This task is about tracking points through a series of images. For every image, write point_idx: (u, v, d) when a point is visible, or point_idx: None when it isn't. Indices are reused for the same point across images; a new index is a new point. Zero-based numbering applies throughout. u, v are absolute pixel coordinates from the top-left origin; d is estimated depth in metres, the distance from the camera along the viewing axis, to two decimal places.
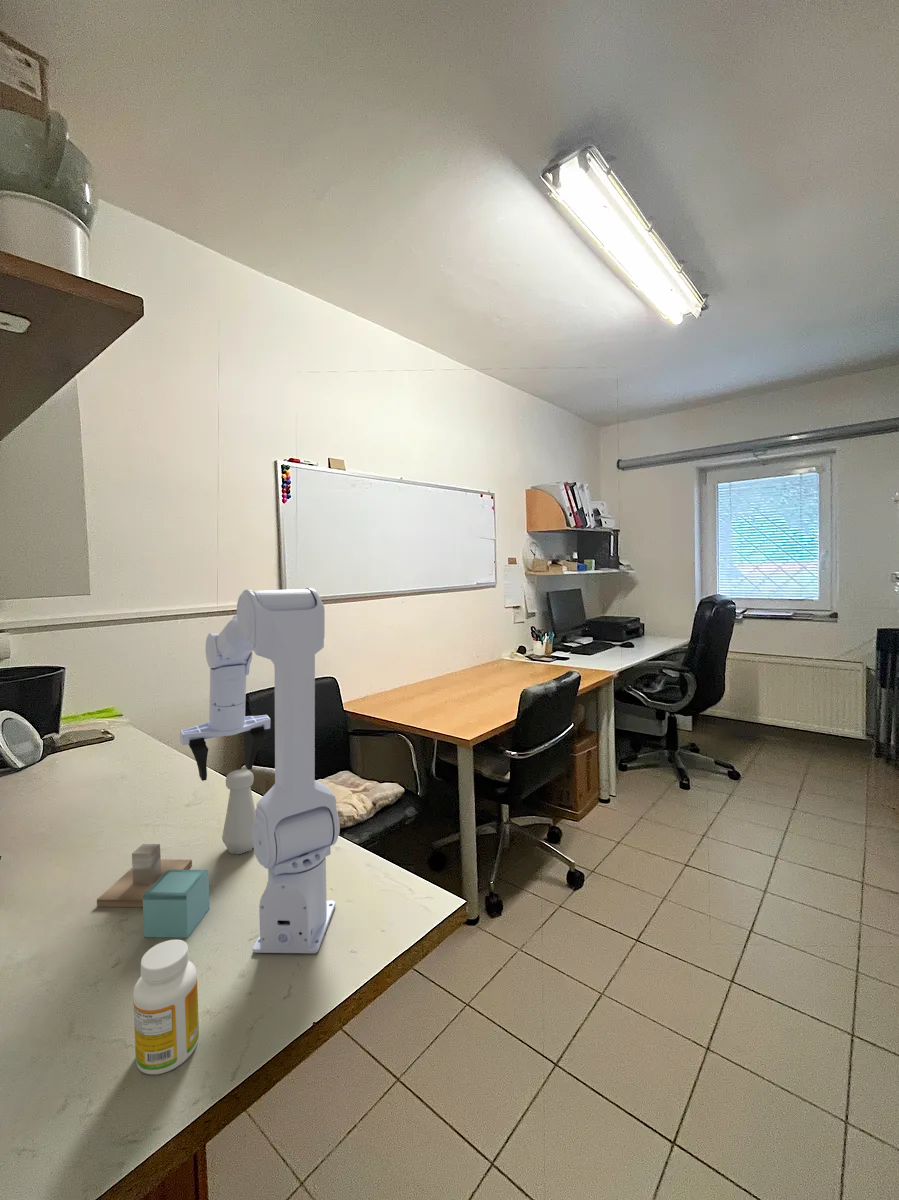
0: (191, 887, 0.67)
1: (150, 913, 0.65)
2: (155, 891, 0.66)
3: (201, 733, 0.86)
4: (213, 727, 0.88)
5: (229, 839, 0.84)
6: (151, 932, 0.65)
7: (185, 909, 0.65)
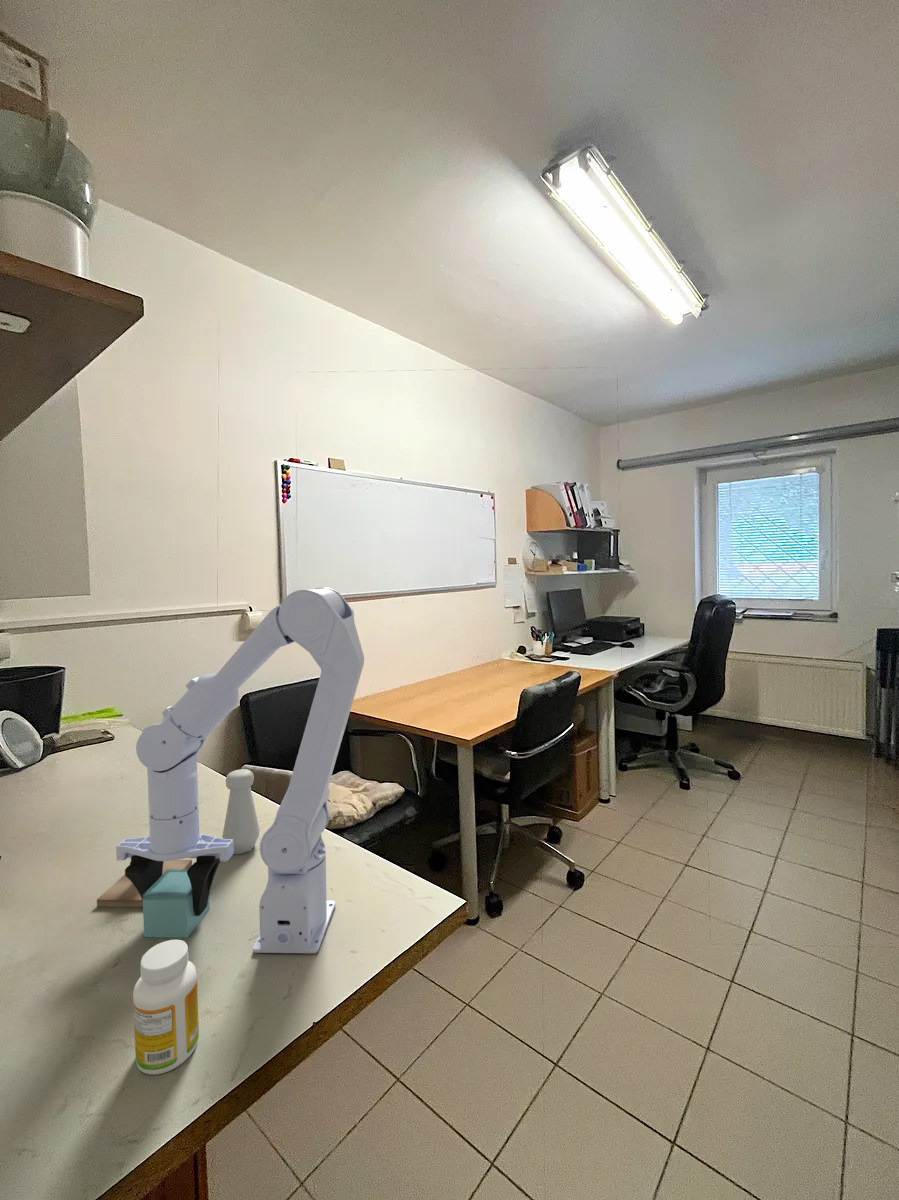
0: (191, 887, 0.67)
1: (150, 913, 0.65)
2: (155, 891, 0.66)
3: (133, 849, 0.66)
4: None
5: None
6: (151, 932, 0.65)
7: (185, 909, 0.65)
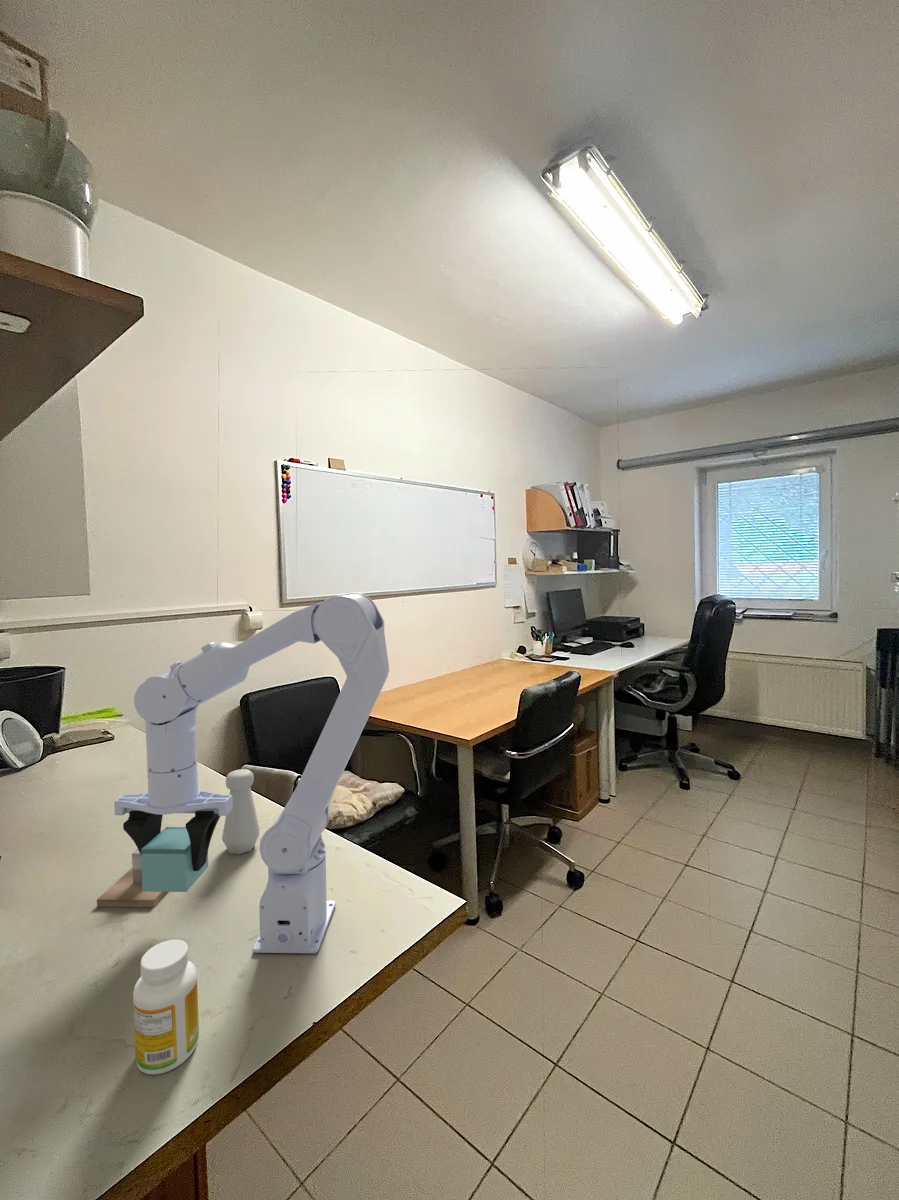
0: None
1: (148, 867, 0.65)
2: (153, 845, 0.65)
3: (132, 804, 0.66)
4: (148, 799, 0.66)
5: (229, 839, 0.84)
6: (150, 886, 0.65)
7: (184, 863, 0.65)
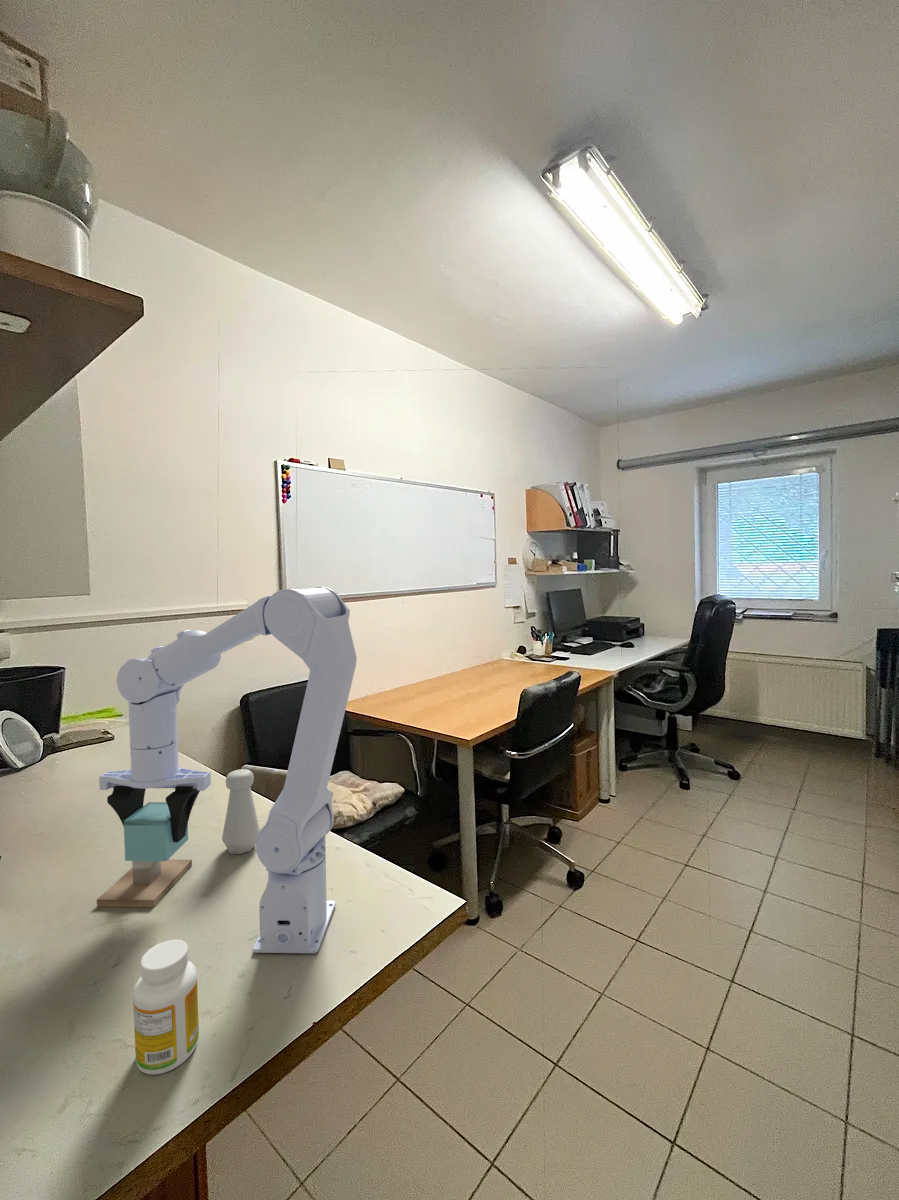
0: None
1: (131, 838, 0.69)
2: (136, 818, 0.70)
3: (115, 779, 0.70)
4: None
5: (229, 839, 0.84)
6: (132, 856, 0.69)
7: (164, 834, 0.69)
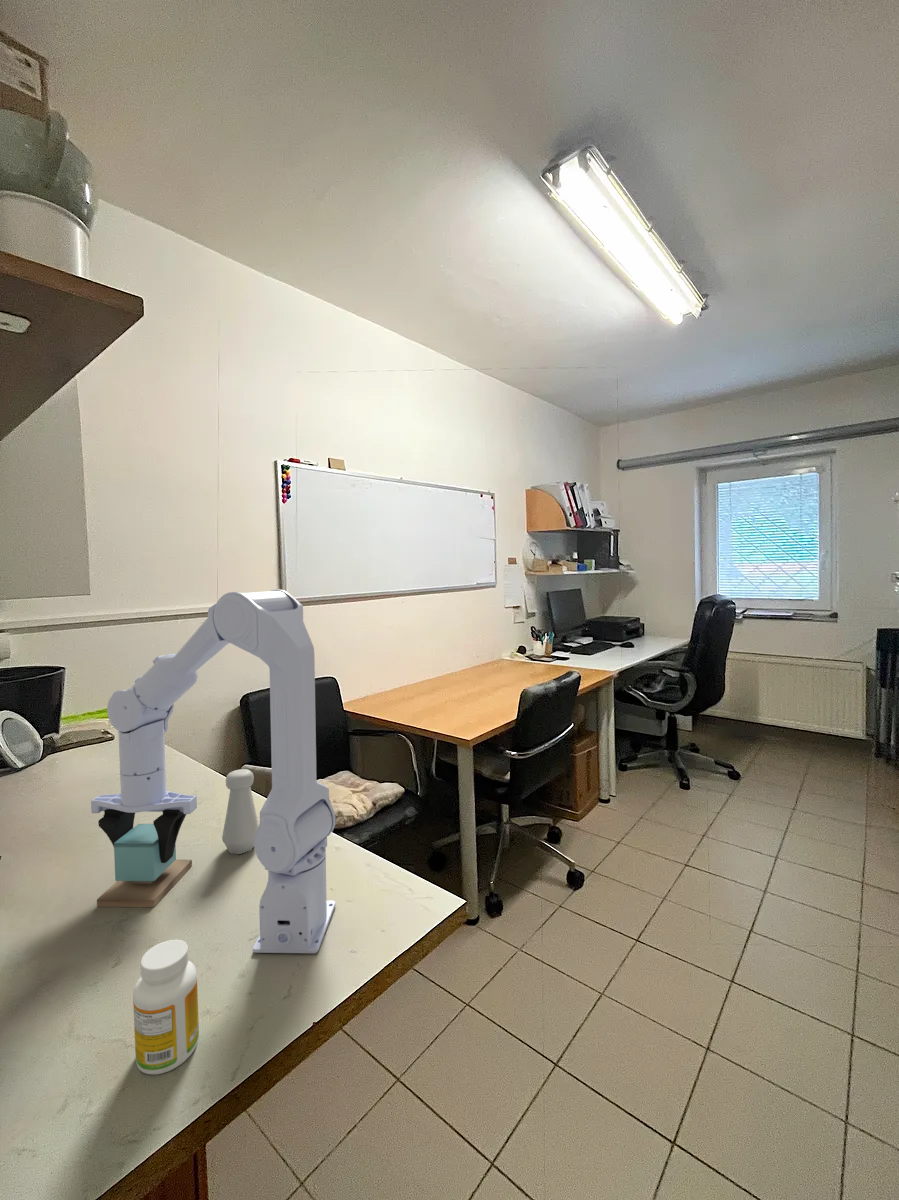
0: None
1: (120, 859, 0.73)
2: (125, 840, 0.74)
3: (106, 803, 0.74)
4: None
5: (229, 839, 0.84)
6: (121, 876, 0.73)
7: (152, 855, 0.73)
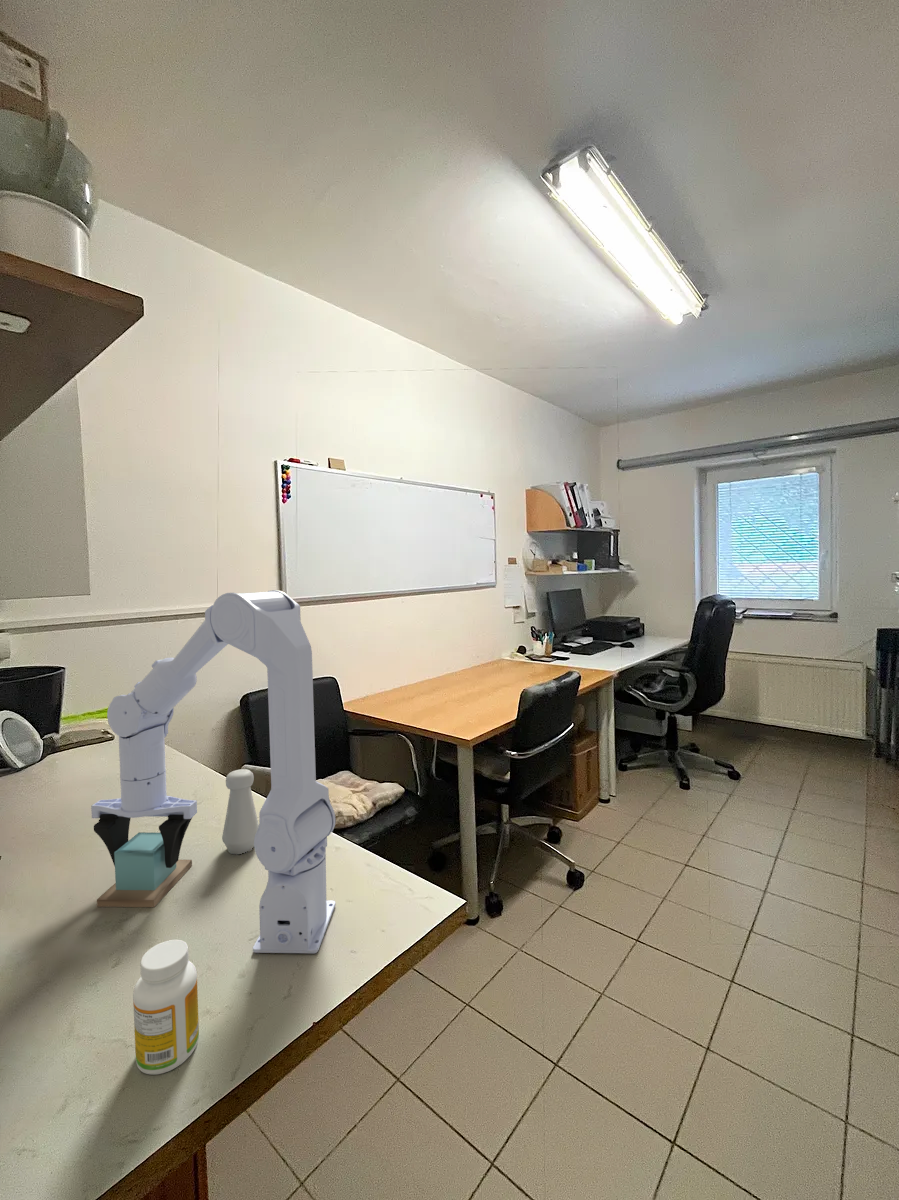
0: (158, 846, 0.75)
1: (121, 868, 0.73)
2: (126, 849, 0.74)
3: (106, 808, 0.74)
4: (121, 803, 0.74)
5: (229, 839, 0.84)
6: (122, 885, 0.73)
7: (152, 865, 0.73)
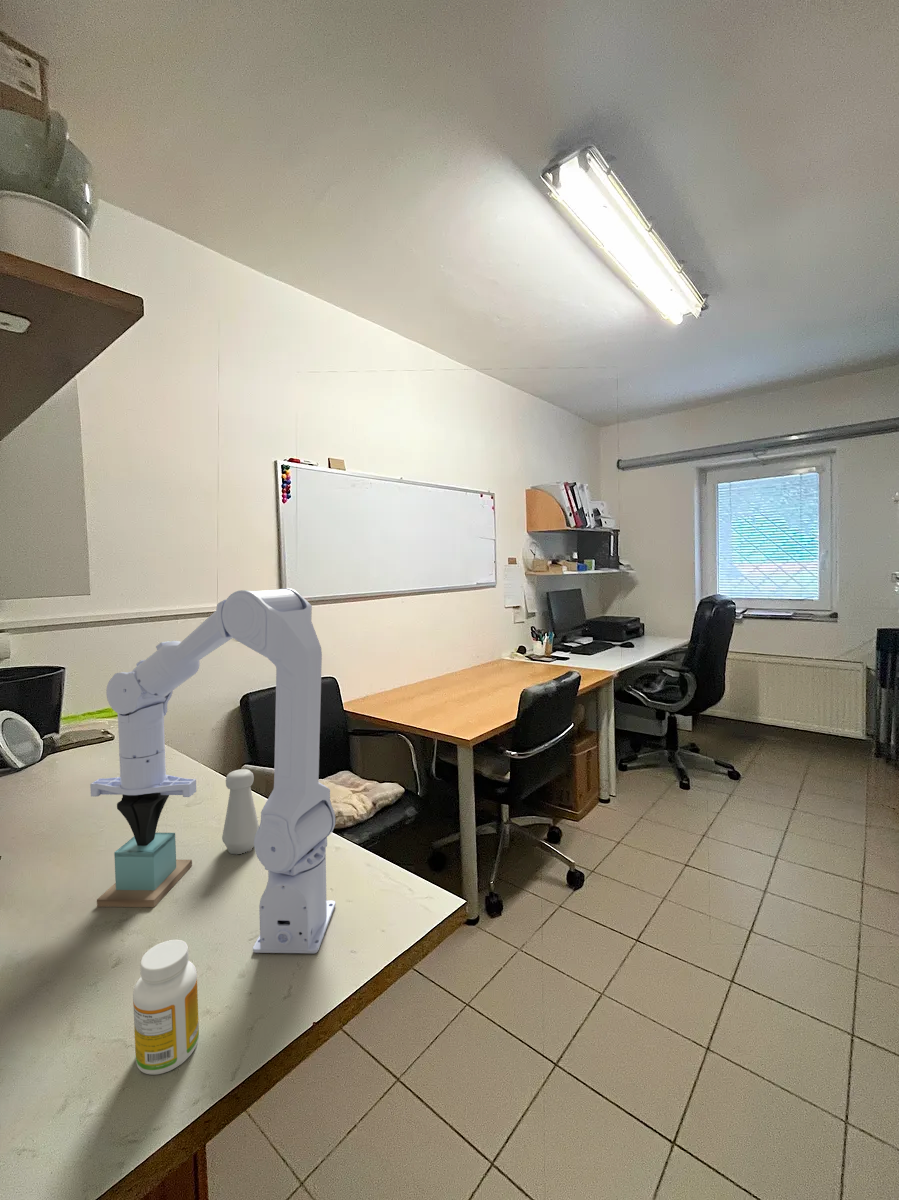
0: (158, 846, 0.75)
1: (121, 868, 0.73)
2: (126, 849, 0.74)
3: (105, 786, 0.74)
4: (120, 781, 0.74)
5: (229, 839, 0.84)
6: (122, 885, 0.73)
7: (152, 865, 0.73)
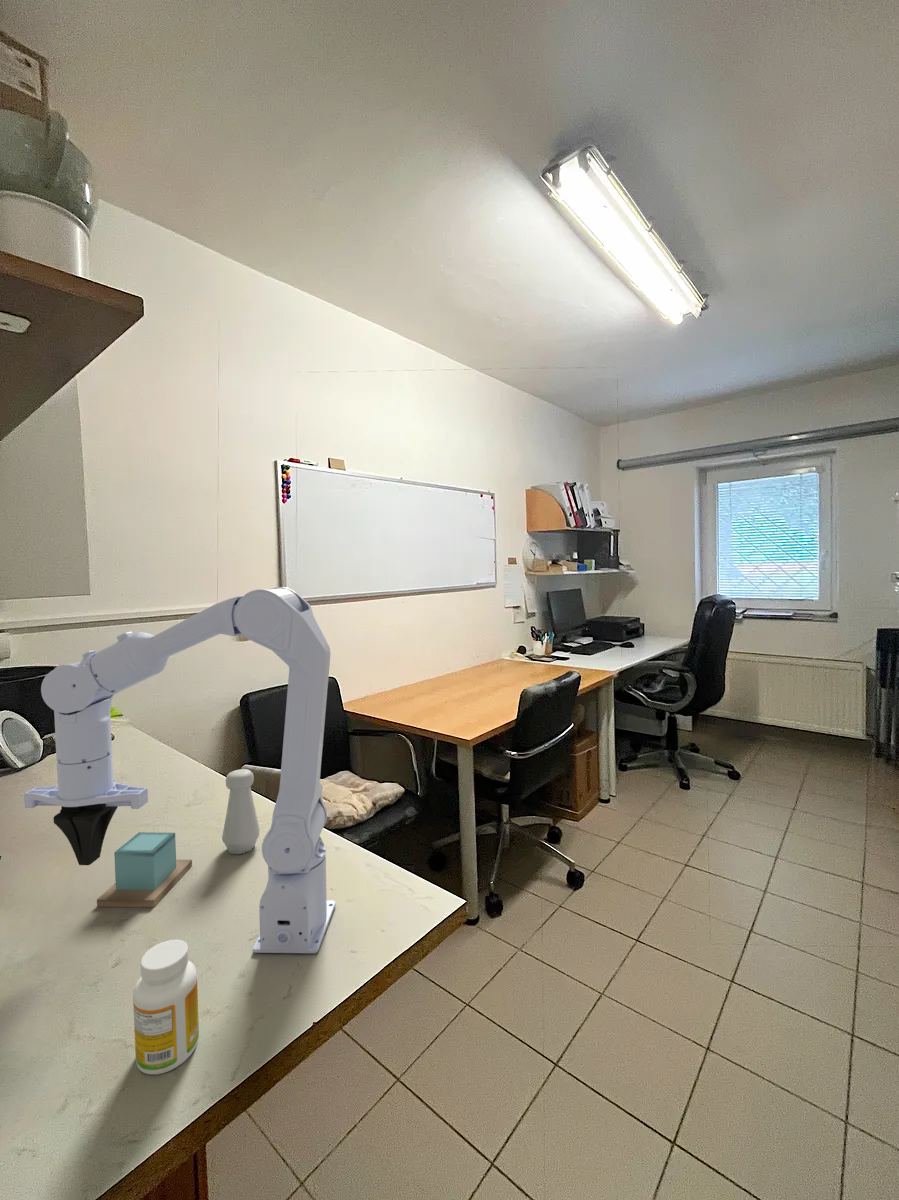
0: (158, 846, 0.75)
1: (121, 868, 0.73)
2: (126, 849, 0.74)
3: (41, 796, 0.64)
4: None
5: (229, 839, 0.84)
6: (122, 885, 0.73)
7: (152, 865, 0.73)
